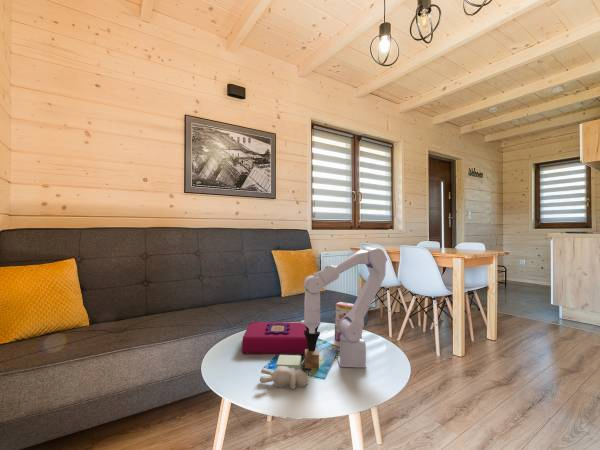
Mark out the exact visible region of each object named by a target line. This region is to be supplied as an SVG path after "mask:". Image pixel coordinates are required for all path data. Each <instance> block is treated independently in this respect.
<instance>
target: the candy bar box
mask: <svg viewBox="0 0 600 450" xmlns="http://www.w3.org/2000/svg"><path fill="white" fill-rule="evenodd" d="M353 305H354V303H349V302H342V301H339V302H336V303H335V304H334V340H335V341H338V342H340V335H341V332H340V330H339V328H338V324H339V321H340V320H341V319H342V318H344V317H345V315H346V313H348V312H349V311H351V309H352V307H353ZM362 337H363V336H361V338H360V339H363V338H362Z"/></svg>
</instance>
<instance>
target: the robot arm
mask: <svg viewBox="0 0 600 450" xmlns="http://www.w3.org/2000/svg"><path fill="white" fill-rule="evenodd" d="M387 261H388V258H387V256H386V254H385V252H384V250H383V249H381V248H378V247H377V248H374V247H371V246H366V247H364V248H363V249H359V250H357V251H356V252H355V253H353V254H352V255H350V256H348V257H347V258H345V259H344V260H342V261H341V262H339V263H338V264H336V265H333V264H329V265H328V264H326V265H324V266H323V268H322V269H321V270H319V271H317V272H313V274H312V275H308V276H306V277H305V278H304V280H303V283H302V286H303V288H304V304H303V305H304V309H303V310H304V311H303V312H304V313H303V314H304V316H303V320H300V322H301V324H305V327H306V330H304V335H305V337H306V339H307V344H308V350H309V351H315V349H317V348H316V347H317V343H318V339H319V337H320V334H321V332H320V331H318V330H319V327H320V325H321V292H322V290H323V288H324V287H326V286H328V285H329V284H331V283H334V281H336V280H338V279H339V278H340V274H342V273H344V272H346V271H348V270H350V269H351V268H353V267H356V266H357V265H365V266H366V267H367V270H368V272H369V275H368V276H367V278H366V281H365V282H364V284H363V287H362V288H361V290H360V293H359V294H358V296H357V298H356V300H355V302H354V303H353V304H354V305H353V307H352V309H351V311H349V312H348V313H346V315H345V317H344V318H342V319H341V320H340V321H339V324H338V328H339V330H340V332H341V335H340V341H339V356H337V360H338V361H337V362H338V365H339V368H364V369H365V368H367V364H366V363H367V346H366V340H365V339H364V338H362V339H360V338H361V336H362V335H363V329H364V327H365V320H364V318H365V316H366V314H367V312H368V310H369V308H370V307H371V305H372V302H373V301H374V299H375V297H376V295H377V293H378V291H379V289H380V287H381V285H382V284H383V281H384V280H385V277H386V270H387V269H386V268H387V267H386V265H387ZM362 337H363V336H362Z"/></svg>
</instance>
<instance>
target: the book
mask: <svg viewBox="0 0 600 450" xmlns="http://www.w3.org/2000/svg"><path fill="white" fill-rule="evenodd" d="M304 330H306V327H305V324H301V321H300V322H297V321H289V322H288V321H285V322H284V321H275V322H273V321H250V322H248V326H247V328H246V330H245V332H244V333H243V336H242V339H241V340H242V341H241V342H242V344H241V347H242V348H241V350H242V351H241V353H242V354H244V355H246V354H253V355H257V354H258V355H259V354H260V355H265V354H266V355H268V354H270V355H305V349H308V344H307V339H306V337H305V335H304Z"/></svg>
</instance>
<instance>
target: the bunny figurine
mask: <svg viewBox="0 0 600 450" xmlns="http://www.w3.org/2000/svg"><path fill="white" fill-rule="evenodd" d="M260 372H261V374H265V375H261V376H260V377H259V382H260V383H261V384H266V383H269V382H270V383H271V382H273V384H274V385H275V386H276V388H280V389H286V388H290V389H292V390H294V389H295V388H297V389H298V388H303V387H305V386H306V385H308V384H309V378H308V373H305V372H304V371H303V370H302V369H297V370H295V369H294V368H291V369H290V368H288V367H286V366H278V367H277V368H276V367H275V369H274V370H271V369H268V368H265V367H264V368H261V371H260Z"/></svg>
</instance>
